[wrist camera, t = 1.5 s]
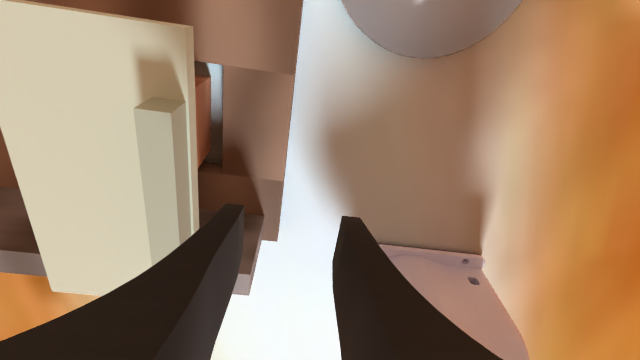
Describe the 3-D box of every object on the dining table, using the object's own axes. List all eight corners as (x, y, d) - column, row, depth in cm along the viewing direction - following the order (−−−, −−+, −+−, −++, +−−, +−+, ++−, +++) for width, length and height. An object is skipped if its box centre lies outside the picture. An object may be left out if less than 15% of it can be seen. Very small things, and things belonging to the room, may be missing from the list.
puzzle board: (303, -4, 17) (297, -6, 11) (278, 230, 24) (266, 303, 18) (-264, -97, 15) (-620, -156, 10) (-114, 188, 22) (-266, 254, 16)
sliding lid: (193, 26, 12) (169, 31, 10) (201, 292, 18) (187, 328, 16) (-20, -7, 11) (-90, -8, 9) (62, 279, 17) (30, 314, 15)
